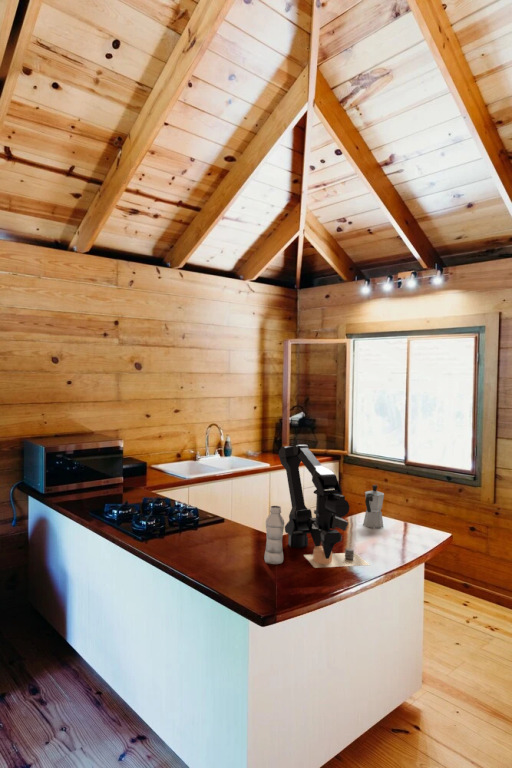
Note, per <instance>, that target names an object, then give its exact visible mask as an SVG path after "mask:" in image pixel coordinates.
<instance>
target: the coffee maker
mask: <svg viewBox="0 0 512 768" xmlns="http://www.w3.org/2000/svg"><path fill="white" fill-rule="evenodd" d="M364 495H365V500H364V502H365V503H364V504H365V507H366V509H365V514H364V519H363V526H365V527H366V528H370V529H382V528H383V527H384V521H383V513H382V511H381V510H382V508H383V504H384V503H383V502H384V499H385V498H384V497H385V493H384V492H381V491H378V485H376V484H375V485H374V484H373V485H372V490H368V491H365V492H364ZM381 527H382V528H381Z"/></svg>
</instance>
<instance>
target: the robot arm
mask: <svg viewBox="0 0 512 768" xmlns="http://www.w3.org/2000/svg"><path fill="white" fill-rule="evenodd" d="M278 458H279V462H280V464H281V465H282V466H283V468H284V469H285V471H286V478H287V483H288V484H287V485H288V490H289V496H290V497H289V498H290V503H291V509H290V513H289V514H288V518H289V520H288V521H287V523H286V524H284V533H286V534H287V535H288V541H287V542H288V543H287V545H288V546H289V547H290V548H295V549H303V548H306V547H308V545H309V537H308V534H310V536H311V538H312V542H313V543H314V547H316V546H322V547H323V551H324V554H325V558H326V559H329V557H330V554H331V552H332V553H333V549H334V546H335V545H336V544H338V543H340V542H342V538H343V535H342V534H341V533H340V532H339V531H338V530H337V529H340V530H342V531H344V532H346V531H347V528H348V525H349V521H347V520H346V519H344V518H343V517H345V516H347V515H348V513H349V511H350V507H351V506H350V504H349V502H348V500H346V496H345V495H343V491H342V488H341V485H340V483H339V481H338V478H337V475H336V474H335V473H334V472H333V471H332V470H331V469H329V468H327V467H324V466H323V465H322V464H321V462H320V461H319V460H318V458H317V457H316V456H315V455H314V453H313V452H312V451H311V450H310V447H309V446H308V444H296V445H286V446H281V447H280V449H279V450H278ZM301 463H302V464H303V465H304V467H305V468H306V470H308V472H309V473H310V474H311V482H312V483H313V485H314V487H315V488H316V489H315V490H314V491H313V494H315V495H316V500H315V502H316V504H315V505H316V506H315V509H314V510H313V513H314V515H315V517H313V514H312V510H311V509H310V508H308V507H307V506H306V504H305V498H304V492H303V487H302V486H303V485H302V481H301V475H300V464H301ZM336 528H337V529H336Z"/></svg>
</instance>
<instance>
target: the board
mask: <svg viewBox="0 0 512 768" xmlns="http://www.w3.org/2000/svg"><path fill="white" fill-rule="evenodd" d="M354 551H355V550H354V549H352V548H345V551H344V552H339V553H336V552H335V553H334V552H333V553H332V562H330V563H329V564H321V563H317V562H315V561H314V560H313V553H312V554H303V557H304V558H305V560H307V561H308V563H310V565H311V566H312V567H313V568H315V569H316V568H317V569H318V568H320V569H321V568H336V567H338V568H339V567H356V566H357V567H358V566H361V567H362V566H370V563H368V562H367V561H366V560H365V559H363V557H361V556H360V555H359V554H358V553H356V552H354Z"/></svg>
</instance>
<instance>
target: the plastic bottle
mask: <svg viewBox="0 0 512 768" xmlns="http://www.w3.org/2000/svg"><path fill="white" fill-rule="evenodd" d="M269 513H270V514H269V515H268V516H267V517H266V519H265V530H266V531H265V532H266V543H265V551H264V556H263V557H264V558H263V559H264V562H265V563H266V565H268V564H269V565H270V564H271V565H279V564H280V565H281V564H282V563H283V562H284V552H283V536H284V531H285V520H284V518H283V516H282V515H281V513H282V507H281V506H280V505H270V507H269Z"/></svg>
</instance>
